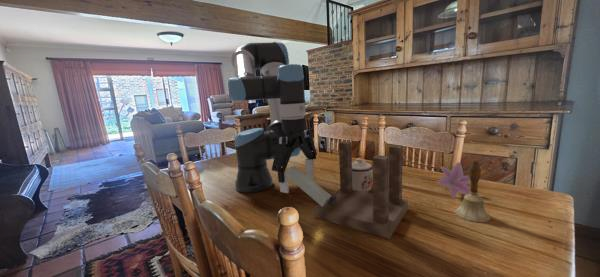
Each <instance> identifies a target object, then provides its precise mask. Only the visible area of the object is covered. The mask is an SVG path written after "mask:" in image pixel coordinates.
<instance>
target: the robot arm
mask: <svg viewBox="0 0 600 277" xmlns="http://www.w3.org/2000/svg"><path fill="white" fill-rule="evenodd" d="M231 65H232V67H233V69H234V77H230V78H229V79H228V81H227V83H228V92H229V98H230V100H231V101H233V102H246V101H258V100H268V108H269V116H270V117H269V118H270V124H269V125H268V128H267V129H268V130H266V131H265V129H264V128H263V127H257V128H256V127H255V128H249V129H247V130H242V131H240V132H238V133H236V134H235V136H234V143H235V144H234V147H235V152H236V163H237V173H236V180H235V185H234V186H235V190H236V191H238V192H239V193H244V194H245V193H247V194H249V193H250V194H251V193H257V192H258V193H260V192H262V191H265V190H268V189H270V188H271V187H272V186H273V184H274V182H273V177H272V176H271V172H270V170H269V168H268V162H267V161H269V160H273V162H272V166H271V171H273V172H277V178H278V180H277V181H278V183H279V192H280V193H284V194H289V193H290V189H289V178H288V174H287V172H288V170H286V169H287V167H288V164H289V162H290V160H291V158H292V157H293V158H294V157H298V156H299V155H300V153H301V152H302V153H303V155H304V156H305V157H306V158H305V159H304V162H305V164H304V165H305V175H307V176H308V177H309V178H310V179H311V180H314V179H315V173H314V171H315V170H314V167H315V166H314V163H315V162H314V160H317V155H318V152H317V149H316V147H315V144H314V141H313V139H312V135H311V130H310V129H309V130H308V129H307V128H308V127H307V118H306V117H305V116H306V115H307V114H306V103H305V102H306V97H305V80H304V78H305V75H304V69H303V68H304V67H303V66H302V65H301V64H298V63H297V64H296V63H295V64H291V63H290V58H289V52H288V49H287V46H286V44H284V43H283V42H277V41H274V42H273V41H272V42H248V43H244V44H243V45H240V46H239V47H237V48H236V49H235V50H234V51H233V53H232V56H231ZM255 70H260V72H261V74H262V75H258V76H257V75H256V74H257V73H256V71H255Z"/></svg>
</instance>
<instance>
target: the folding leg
mask: <svg viewBox="0 0 600 277" xmlns="http://www.w3.org/2000/svg"><path fill="white" fill-rule="evenodd" d="M287 174H288V180H290V181H291V182H293V183H294V184H295V186H297V187H299V188H300V189H301V190H302V191H303V192H304V193H306V194H307V195H308V196H309V197H310V198H311V199H313V200H314V201H315V202H316V203H317V204H318V205H319V204H320V205H321V206H322V207H323V206H324V205H326V204H327V203H328V201H329V200H330V198H331V195H332V194H330V193H329V192H327V190H325V189H324V188H323V187H321V186H320V184H318V183H317V182H315V181H314V179H310V178H309V177H308V176H307V175H306V173H305V172H304V171H302V170H300V169H299V168H298V167H297V166H296V165H293V166H291V167H289V168H288V170H287Z"/></svg>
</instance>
